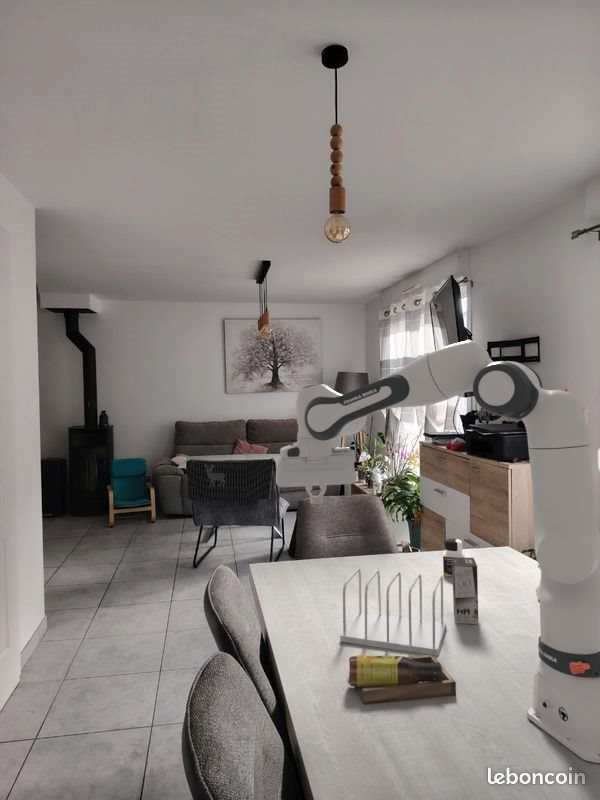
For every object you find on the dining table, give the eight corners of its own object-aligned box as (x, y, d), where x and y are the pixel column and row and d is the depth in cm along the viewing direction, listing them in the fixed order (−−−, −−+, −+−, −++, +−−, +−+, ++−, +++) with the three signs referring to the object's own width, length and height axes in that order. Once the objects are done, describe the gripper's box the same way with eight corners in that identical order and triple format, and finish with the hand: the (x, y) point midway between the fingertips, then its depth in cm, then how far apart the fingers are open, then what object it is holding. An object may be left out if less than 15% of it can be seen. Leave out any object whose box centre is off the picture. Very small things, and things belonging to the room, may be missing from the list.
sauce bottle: (348, 662, 128) (437, 664, 127) (349, 691, 123) (441, 694, 122) (348, 649, 124) (440, 652, 122) (349, 679, 119) (445, 682, 118)
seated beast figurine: (555, 609, 165) (554, 568, 165) (528, 601, 172) (527, 561, 172) (572, 601, 171) (570, 562, 171) (545, 594, 178) (544, 556, 178)
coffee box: (479, 624, 156) (477, 566, 156) (455, 623, 157) (453, 565, 157) (475, 612, 165) (474, 557, 164) (453, 611, 166) (451, 556, 166)
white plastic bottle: (443, 575, 199) (442, 541, 199) (444, 569, 206) (443, 536, 206) (464, 577, 197) (463, 542, 197) (464, 571, 203) (463, 537, 203)
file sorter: (339, 643, 147) (338, 583, 147) (357, 618, 163) (356, 564, 163) (437, 656, 138) (436, 592, 138) (446, 628, 154) (445, 571, 154)
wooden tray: (456, 695, 119) (455, 681, 119) (363, 704, 117) (363, 690, 117) (433, 666, 132) (433, 654, 132) (350, 674, 130) (349, 662, 130)
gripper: (352, 446, 147) (353, 498, 147) (274, 449, 145) (275, 502, 145) (357, 448, 141) (359, 503, 141) (276, 451, 139) (278, 507, 139)
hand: (316, 503), depth 143 cm, fingers closed
